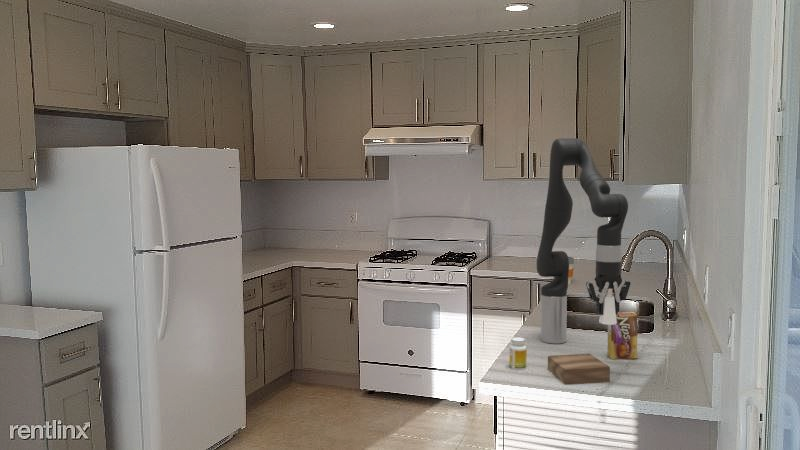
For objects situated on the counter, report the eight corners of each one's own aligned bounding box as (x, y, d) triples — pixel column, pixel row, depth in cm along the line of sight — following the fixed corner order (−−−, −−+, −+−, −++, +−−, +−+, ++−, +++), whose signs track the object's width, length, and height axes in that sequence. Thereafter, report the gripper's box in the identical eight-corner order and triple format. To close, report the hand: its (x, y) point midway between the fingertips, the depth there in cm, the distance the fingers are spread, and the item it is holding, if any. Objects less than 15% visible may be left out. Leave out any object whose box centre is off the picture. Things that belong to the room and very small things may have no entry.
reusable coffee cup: (572, 287, 337) (572, 259, 336) (548, 286, 342) (548, 259, 340) (575, 283, 349) (575, 256, 348) (551, 282, 353) (552, 255, 352)
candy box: (632, 355, 216) (633, 311, 214) (637, 359, 211) (638, 314, 210) (606, 355, 216) (607, 311, 214) (610, 359, 212) (611, 314, 210)
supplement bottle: (506, 368, 203) (506, 339, 203) (515, 364, 207) (515, 335, 206) (520, 371, 200) (520, 342, 199) (529, 367, 204) (529, 338, 203)
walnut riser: (547, 371, 201) (547, 355, 201) (589, 368, 203) (589, 353, 203) (565, 385, 188) (565, 369, 187) (609, 383, 189) (609, 366, 189)
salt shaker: (596, 320, 198) (596, 286, 197) (613, 320, 198) (614, 285, 197) (601, 325, 192) (602, 289, 191) (619, 324, 192) (620, 289, 191)
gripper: (624, 256, 198) (623, 310, 200) (581, 258, 196) (580, 312, 198) (636, 260, 190) (635, 316, 192) (591, 261, 189) (590, 318, 190)
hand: (607, 313), depth 195 cm, fingers closed on salt shaker, 4 cm apart
